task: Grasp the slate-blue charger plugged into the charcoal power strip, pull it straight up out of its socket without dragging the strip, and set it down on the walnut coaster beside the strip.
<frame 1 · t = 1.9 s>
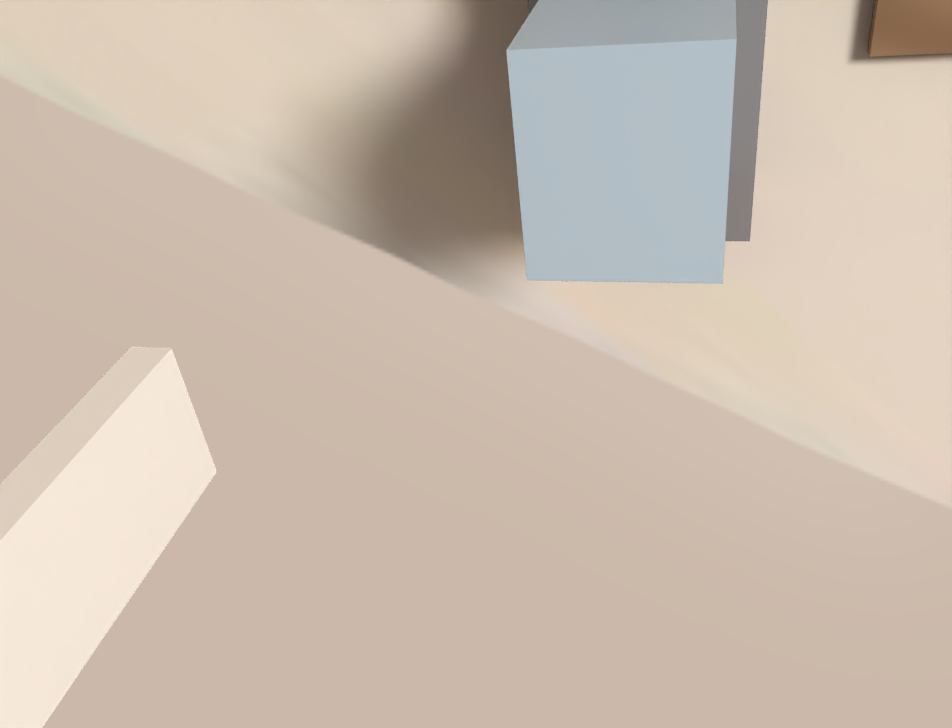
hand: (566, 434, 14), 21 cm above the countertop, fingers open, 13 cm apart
charger: (650, 44, 29), point 2 cm above the countertop, touching power strip
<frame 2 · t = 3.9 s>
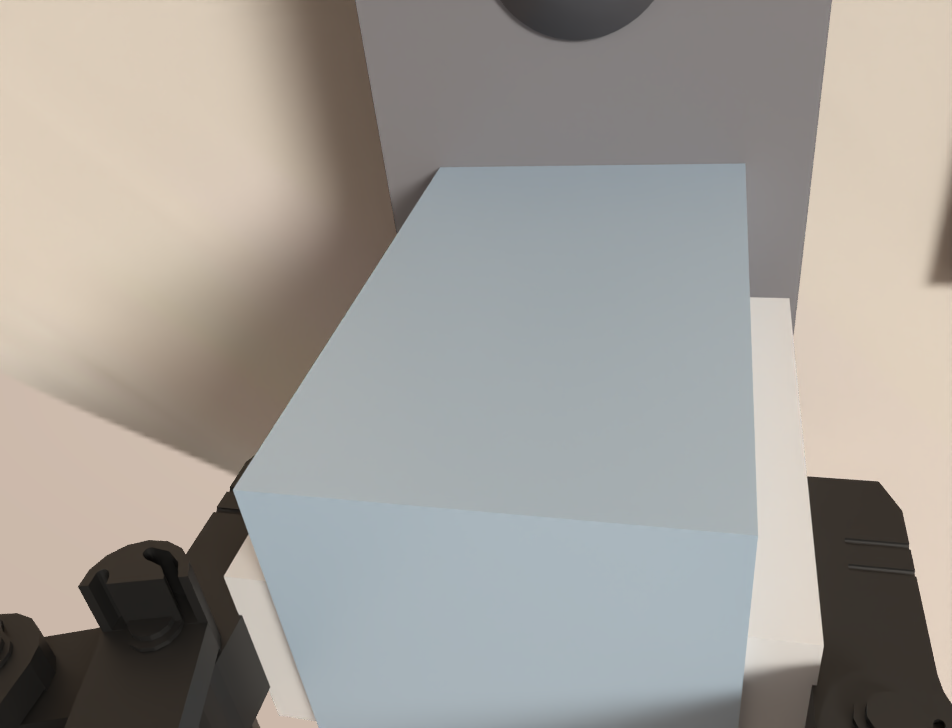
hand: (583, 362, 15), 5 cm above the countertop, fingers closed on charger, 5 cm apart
charger: (606, 259, 18), point 2 cm above the countertop, touching gripper
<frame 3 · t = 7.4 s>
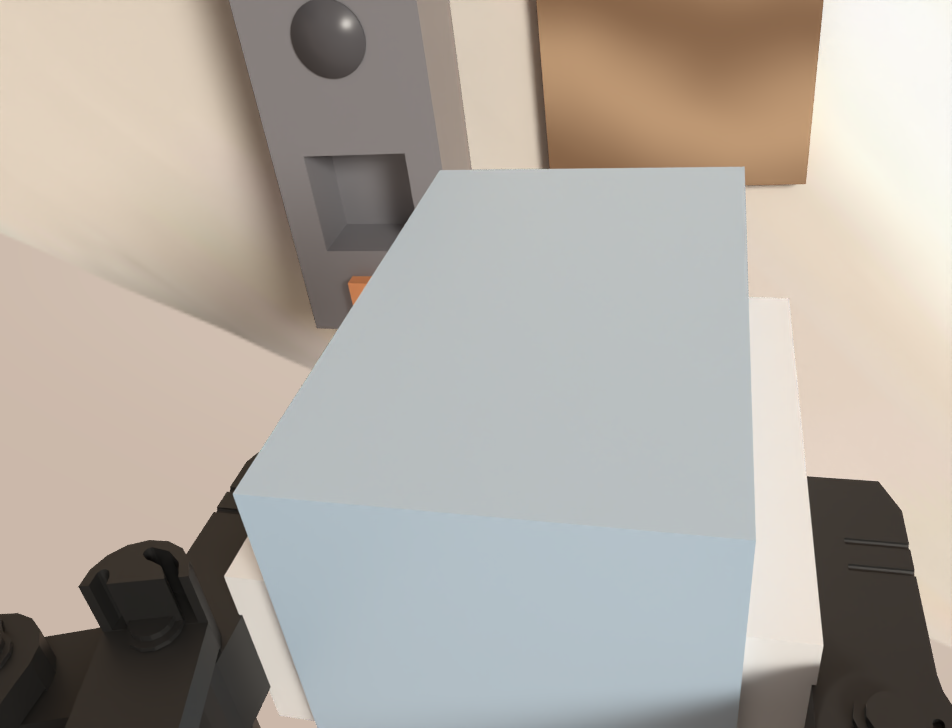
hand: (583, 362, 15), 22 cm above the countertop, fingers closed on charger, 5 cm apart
coaster: (675, 0, 32), on the countertop
power strip: (371, 48, 36), on the countertop
charger: (605, 261, 18), point 18 cm above the countertop, touching gripper
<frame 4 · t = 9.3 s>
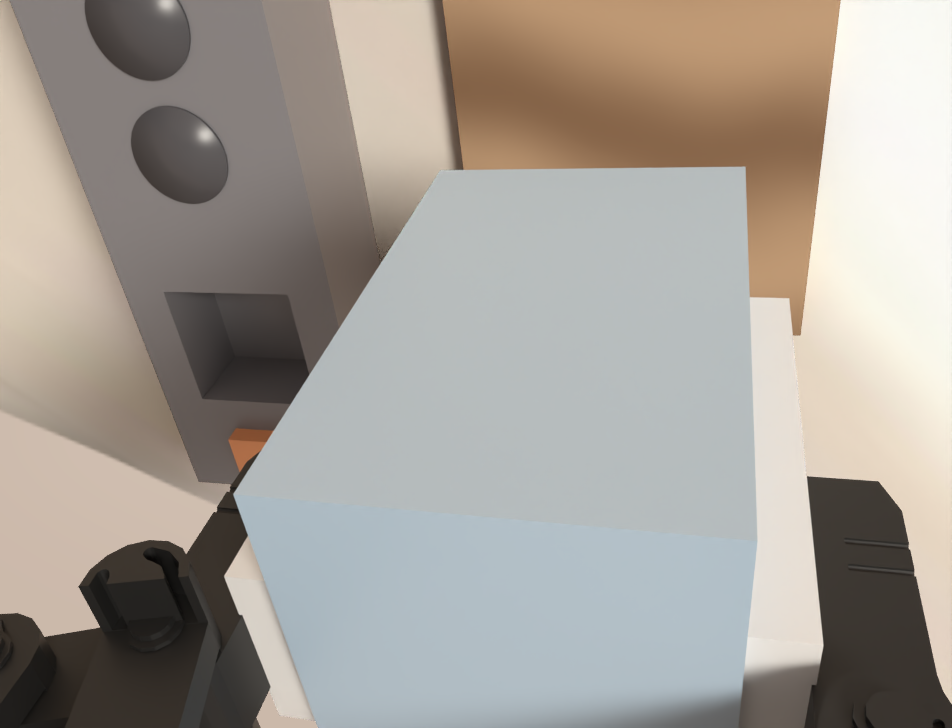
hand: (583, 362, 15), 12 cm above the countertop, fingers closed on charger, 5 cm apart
coaster: (634, 109, 25), on the countertop
power strip: (255, 150, 28), on the countertop
charger: (606, 261, 18), point 9 cm above the countertop, touching gripper
when the fingers open (6 cm above the countertop, at t = 10.8 s): charger drops 1 cm, resting on coaster.
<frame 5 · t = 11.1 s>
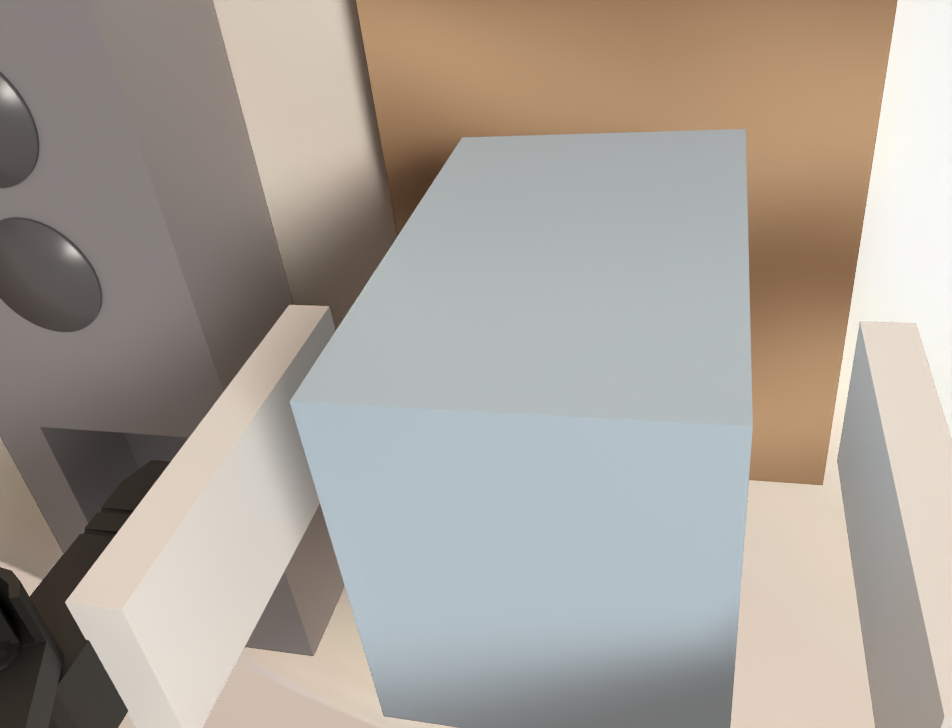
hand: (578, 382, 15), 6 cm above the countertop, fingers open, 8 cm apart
coaster: (616, 216, 20), on the countertop
power strip: (157, 249, 23), on the countertop
charger: (616, 227, 19), point 1 cm above the countertop, touching coaster
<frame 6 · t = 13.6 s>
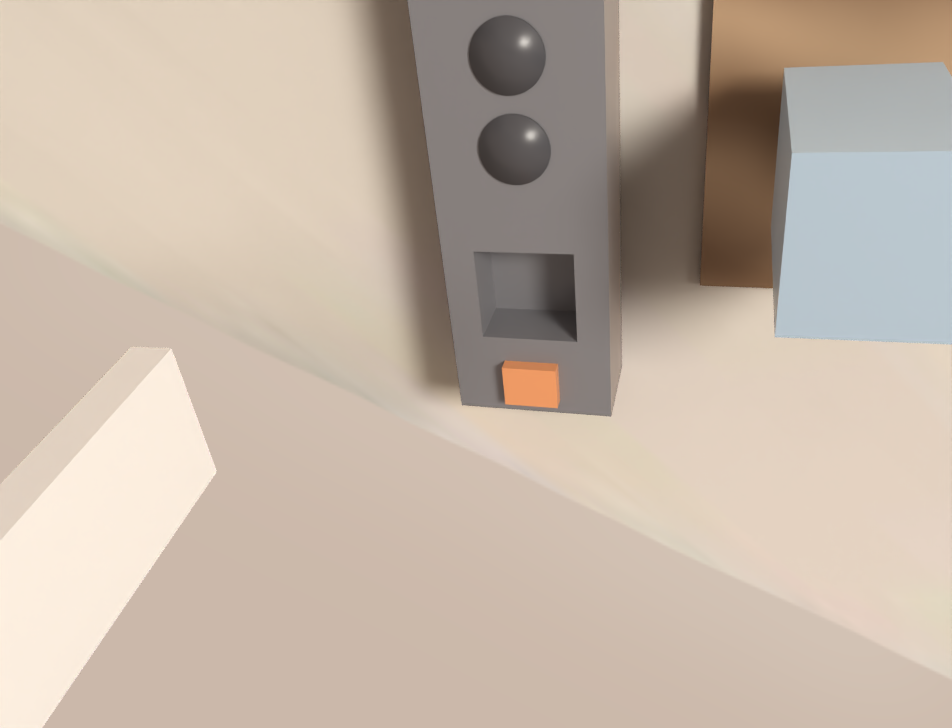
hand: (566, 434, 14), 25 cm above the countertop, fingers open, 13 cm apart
coaster: (842, 123, 34), on the countertop
power strip: (537, 148, 38), on the countertop
charger: (845, 127, 33), point 1 cm above the countertop, touching coaster
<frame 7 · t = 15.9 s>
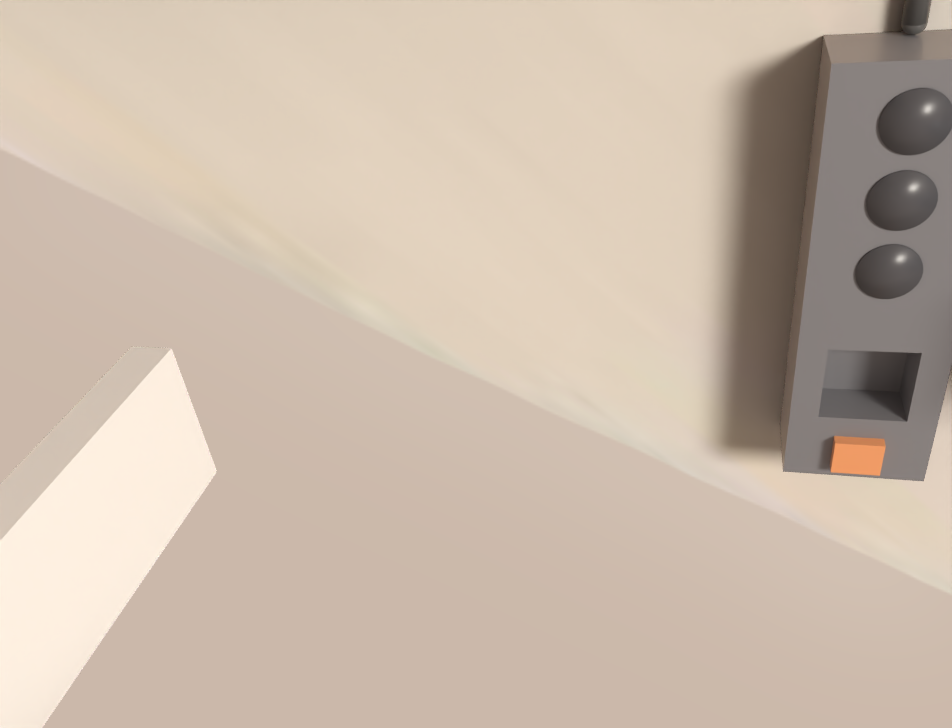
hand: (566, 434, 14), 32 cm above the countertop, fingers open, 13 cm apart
power strip: (872, 258, 44), on the countertop
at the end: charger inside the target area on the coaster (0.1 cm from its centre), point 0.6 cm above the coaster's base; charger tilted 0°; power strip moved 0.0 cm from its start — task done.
